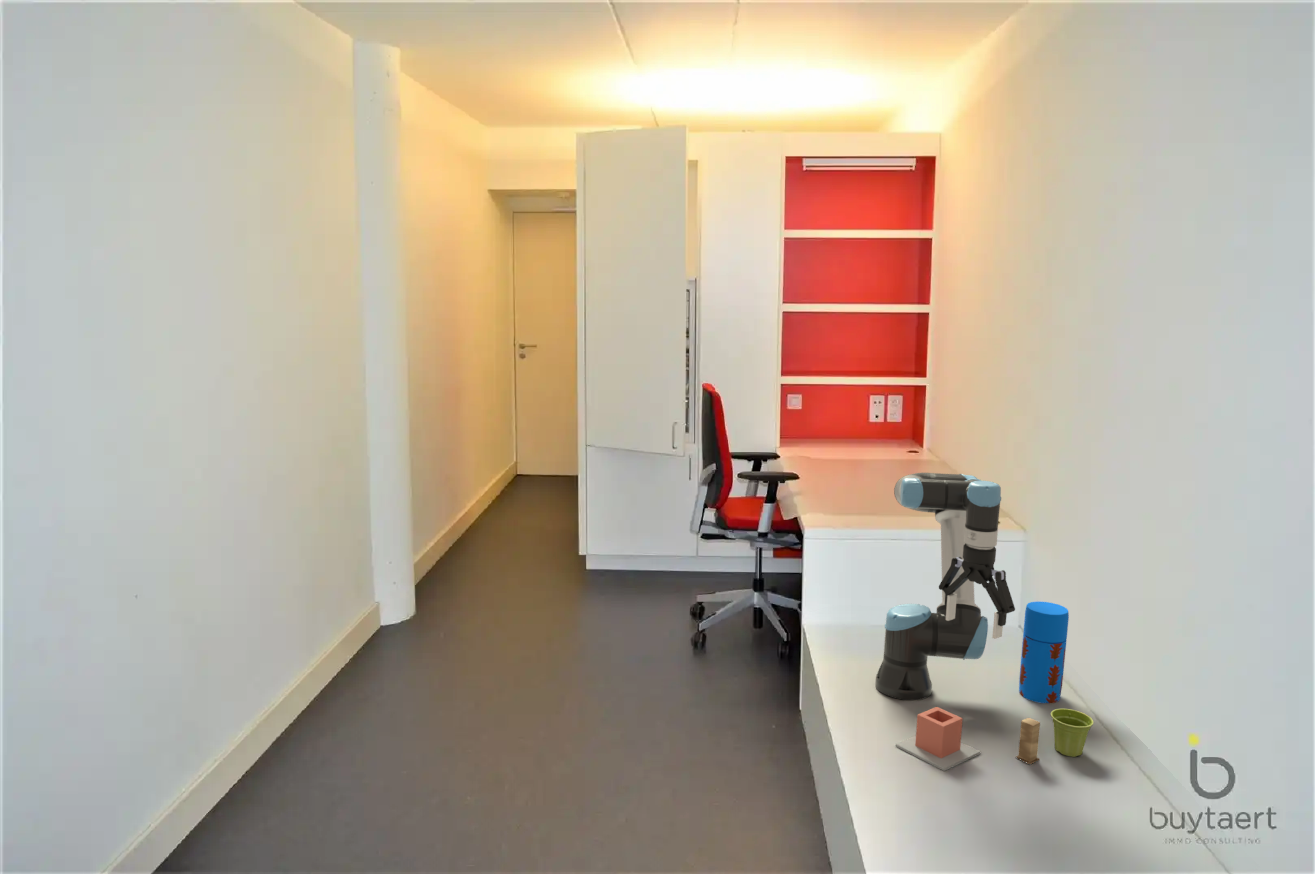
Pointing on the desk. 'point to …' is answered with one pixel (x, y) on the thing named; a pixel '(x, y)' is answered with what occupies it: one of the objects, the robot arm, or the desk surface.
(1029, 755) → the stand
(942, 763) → the coaster
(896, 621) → the robot arm
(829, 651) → the desk surface
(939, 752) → the salmon square sleeve
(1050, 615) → the thermos
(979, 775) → the desk surface
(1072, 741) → the plant pot
